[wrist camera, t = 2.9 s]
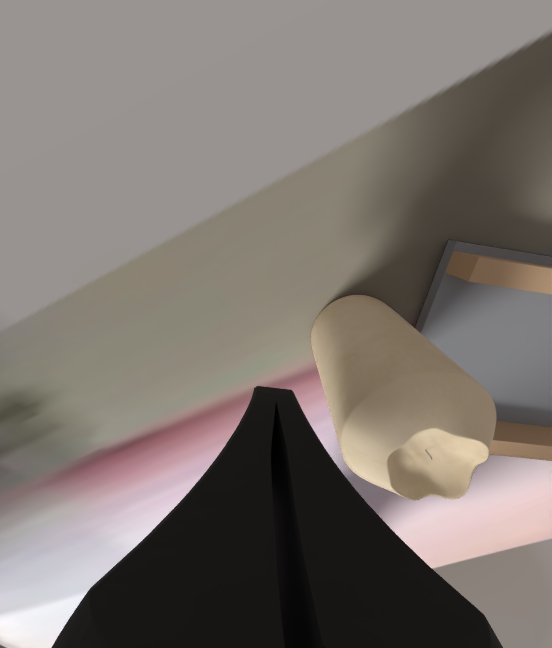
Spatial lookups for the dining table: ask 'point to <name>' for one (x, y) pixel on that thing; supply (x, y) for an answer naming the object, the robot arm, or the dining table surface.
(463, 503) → the dining table surface
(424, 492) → the candle
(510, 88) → the dining table surface
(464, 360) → the tray
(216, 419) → the dining table surface
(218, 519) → the robot arm
